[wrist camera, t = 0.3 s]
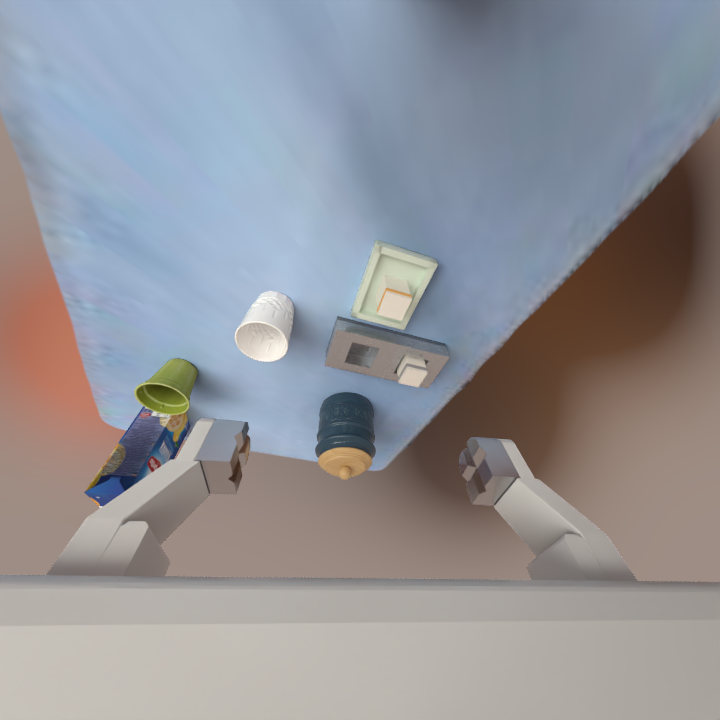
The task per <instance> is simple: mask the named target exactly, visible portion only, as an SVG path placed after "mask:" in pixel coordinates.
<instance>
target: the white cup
mask: <svg viewBox="0 0 720 720" xmlns="http://www.w3.org/2000/svg"><path fill="white" fill-rule="evenodd" d="M294 310H295V309H294V306H293V303H292V301H291V300H290V299H289V298H288V297H287V296H286V295H284V294H282V293H280V292H276V291H267V292H264V293H262V294H260V296H259V297H258V298H257V299H256V301H255V303H254V304H253V305H252V306H251V308H250V309H249V311H248V312H247V314H246V316H245V317H244V319H243V321H242V322H241V324H240V326H239V327H238V329H237V330H236V333H235V342H236V344H237V346H238V348H239V349H240V350H241V351H242V352H243V353H244V354H245V355H247V356H248V357H250V358H252V359H255V360H258V361H263V362H271V361H276V360H279V359H281V358H282V357H283V356H284V355H285V354H286V352H287V350H288V346H289V341H290V336H291V330H292V325H293V315H294Z"/></svg>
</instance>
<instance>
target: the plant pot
mask: <svg viewBox="0 0 720 720" xmlns="http://www.w3.org/2000/svg"><path fill="white" fill-rule="evenodd" d="M197 374H198V371H197V369H196V367H194V366H192V365H191V363H190V362H188V361H186V360H183V359H172V360H170V361H168V362H167V363H166V364H165V365H164V366H163V367H162V368H161V369H160V370H159V371H158V372H157V373H156V374H155V375H153V376H152V377H151V378H150V379H149V380H147V381H146V382H144V383H142V384H140V385H138V386H137V387H136V389H135V391H134V394H135V397H136V399H137V400H138V401H139V402H140V403H141V404H142V405H143V406H145V407H146V408H148V409H150V410H152V411H154V412H157V413H161V414H166V415H179V414H183V413H185V412H186V411H187V410H188V409H189V406H190V402H189V400H190V394H191V391H192V388H193V385H194V383H195V380H196V377H197Z"/></svg>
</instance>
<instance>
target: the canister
mask: <svg viewBox="0 0 720 720" xmlns="http://www.w3.org/2000/svg"><path fill="white" fill-rule="evenodd" d="M319 416H320V421H319V430H318V434H317V440H318V444H317V446H316V449H315V452H316V455H317V457H318V458H319V459H318V463H319V466H320V467H321V468H322V469H323V470H325V471H327V472H328V473H329V474H332V475H334V476H338V477H340V478H341V479H343V480H346V479H348V478H349V477H352V476H356V475H359V474H361V473H362V472H364V471H366V470H367V469H369V468H370V466H371V465H372V458H373V457H374V455H375V452H376V450H375V447H374V445H373V443H374V440H375V435H374V427H373V417H374V414H373V408H372V405H371V403H370V402H369V401H368V400H367V399H366V398H365V397H363V396H361V395H358V394H354V393H338V394H334V395H332V396H330V397H328V398H327V399H326V400H325V401H324V402H323V404H322V406H321V409H320V414H319Z"/></svg>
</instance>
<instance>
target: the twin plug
mask: <svg viewBox="0 0 720 720" xmlns="http://www.w3.org/2000/svg"><path fill="white" fill-rule="evenodd" d="M397 374H398V381H399V383H400V384H405V385H410V386H414V387H419V385H420V384H421V382H422V381H423V379H424V378H425V376H426V375H427V368H426V365H425V361H424V359H420V358H416V357H412V356H408V355H403V357H402V359H401V360H400V362H399V364H398V366H397Z"/></svg>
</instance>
